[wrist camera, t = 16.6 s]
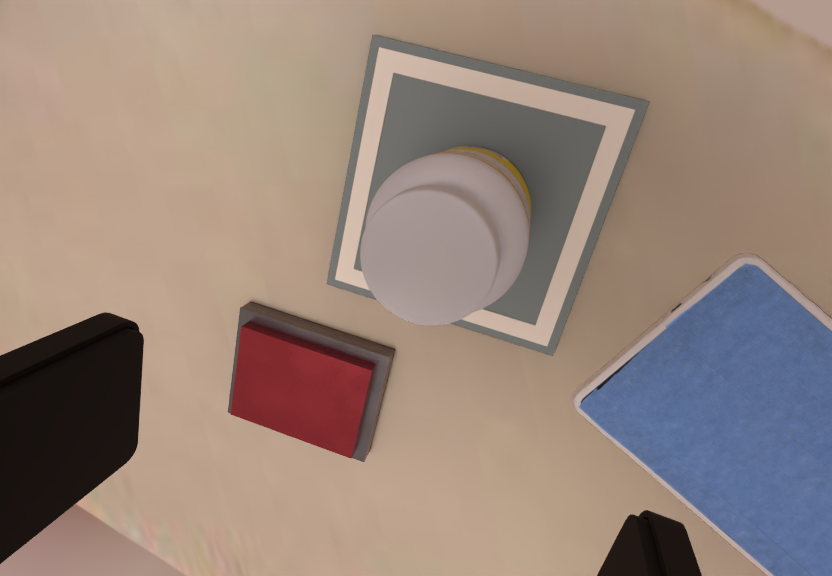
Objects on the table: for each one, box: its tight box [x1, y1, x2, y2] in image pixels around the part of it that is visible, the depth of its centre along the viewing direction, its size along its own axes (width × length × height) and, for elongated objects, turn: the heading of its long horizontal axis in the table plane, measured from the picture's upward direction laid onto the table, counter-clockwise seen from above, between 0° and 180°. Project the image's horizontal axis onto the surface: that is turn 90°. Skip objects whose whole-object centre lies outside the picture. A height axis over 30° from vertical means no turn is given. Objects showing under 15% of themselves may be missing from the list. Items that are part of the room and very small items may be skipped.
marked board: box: [327, 35, 650, 356], centre depth 28 cm, size 14×14×1 cm
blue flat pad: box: [572, 253, 832, 576], centre depth 28 cm, size 19×13×1 cm, turn 51°
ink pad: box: [228, 302, 395, 462], centre depth 33 cm, size 10×8×2 cm
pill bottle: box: [360, 146, 531, 326], centre depth 22 cm, size 6×6×12 cm
